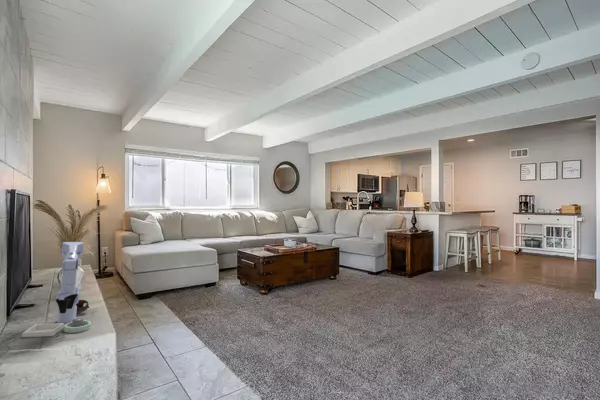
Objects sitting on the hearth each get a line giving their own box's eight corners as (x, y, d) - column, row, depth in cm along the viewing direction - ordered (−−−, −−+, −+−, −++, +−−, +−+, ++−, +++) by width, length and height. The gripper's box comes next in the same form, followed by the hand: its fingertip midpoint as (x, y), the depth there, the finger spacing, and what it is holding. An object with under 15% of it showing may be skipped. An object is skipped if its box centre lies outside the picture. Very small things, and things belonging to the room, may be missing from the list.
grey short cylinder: (72, 327, 160) (73, 318, 160) (83, 326, 162) (84, 317, 162) (70, 330, 156) (71, 321, 156) (81, 329, 158) (82, 320, 158)
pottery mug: (91, 310, 192) (93, 300, 189) (82, 322, 183) (84, 311, 181) (70, 305, 190) (71, 294, 187) (59, 316, 181) (61, 306, 178)
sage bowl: (69, 326, 163) (69, 320, 163) (93, 325, 166) (94, 320, 166) (59, 334, 152) (60, 328, 152) (85, 333, 155) (86, 327, 155)
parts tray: (35, 329, 157) (36, 323, 157) (63, 328, 160) (64, 322, 160) (21, 338, 145) (22, 332, 145) (52, 337, 149) (53, 331, 149)
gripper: (65, 280, 166) (63, 307, 165) (52, 286, 152) (49, 315, 151) (81, 280, 167) (78, 306, 167) (69, 286, 154) (66, 315, 153)
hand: (66, 310), depth 159 cm, fingers open, 7 cm apart
